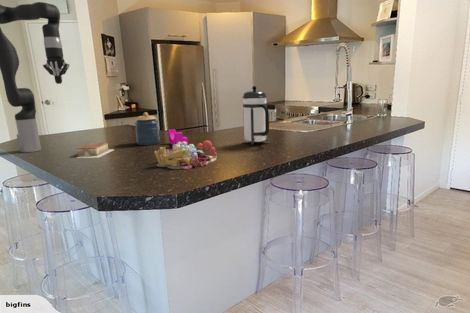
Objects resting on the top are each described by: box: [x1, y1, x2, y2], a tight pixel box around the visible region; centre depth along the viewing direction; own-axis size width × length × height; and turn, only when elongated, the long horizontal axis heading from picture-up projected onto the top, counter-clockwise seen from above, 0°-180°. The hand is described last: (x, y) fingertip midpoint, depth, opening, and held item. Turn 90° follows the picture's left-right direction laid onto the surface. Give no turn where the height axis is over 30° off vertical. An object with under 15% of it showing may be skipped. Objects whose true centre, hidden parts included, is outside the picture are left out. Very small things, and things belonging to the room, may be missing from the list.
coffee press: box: [241, 85, 270, 146], centre depth 175 cm, size 17×16×30 cm
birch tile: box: [75, 142, 109, 157], centre depth 167 cm, size 4×12×10 cm
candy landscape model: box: [154, 139, 218, 170], centre depth 143 cm, size 25×24×9 cm
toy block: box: [167, 129, 189, 146], centre depth 183 cm, size 15×6×8 cm, turn 26°
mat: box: [76, 148, 115, 159], centre depth 167 cm, size 11×18×1 cm, turn 176°
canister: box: [134, 111, 161, 146], centre depth 188 cm, size 13×13×18 cm
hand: (59, 83), depth 167 cm, fingers closed
